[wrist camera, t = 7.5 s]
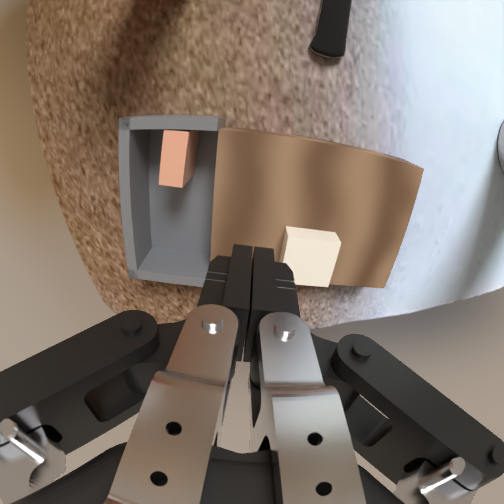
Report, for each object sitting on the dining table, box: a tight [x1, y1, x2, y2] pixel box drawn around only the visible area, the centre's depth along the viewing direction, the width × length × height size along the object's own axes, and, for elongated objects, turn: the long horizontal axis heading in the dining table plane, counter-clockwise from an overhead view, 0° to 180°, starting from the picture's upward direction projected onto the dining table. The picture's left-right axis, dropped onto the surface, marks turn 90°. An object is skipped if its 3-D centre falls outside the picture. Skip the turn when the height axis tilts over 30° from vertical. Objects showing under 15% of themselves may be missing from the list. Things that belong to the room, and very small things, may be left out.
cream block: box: [279, 226, 341, 287], centre depth 24 cm, size 4×4×2 cm
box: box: [119, 115, 225, 287], centre depth 24 cm, size 8×15×5 cm, turn 174°
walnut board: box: [210, 127, 424, 288], centre depth 25 cm, size 18×13×4 cm
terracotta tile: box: [159, 129, 200, 188], centre depth 22 cm, size 4×4×2 cm
